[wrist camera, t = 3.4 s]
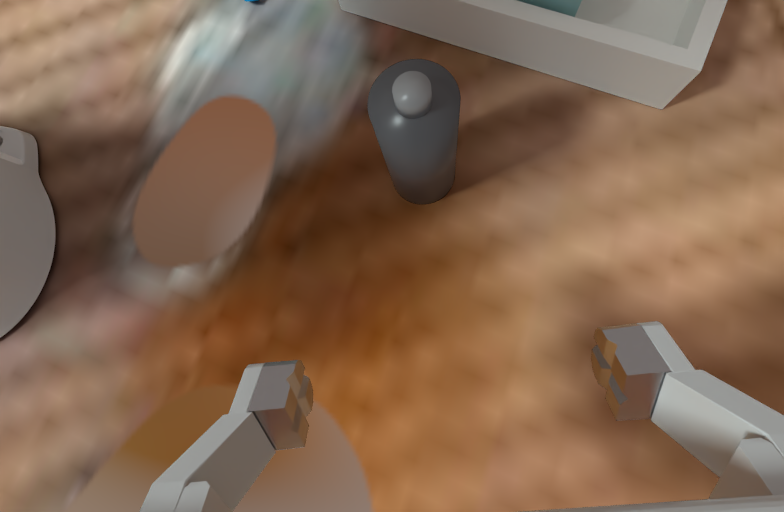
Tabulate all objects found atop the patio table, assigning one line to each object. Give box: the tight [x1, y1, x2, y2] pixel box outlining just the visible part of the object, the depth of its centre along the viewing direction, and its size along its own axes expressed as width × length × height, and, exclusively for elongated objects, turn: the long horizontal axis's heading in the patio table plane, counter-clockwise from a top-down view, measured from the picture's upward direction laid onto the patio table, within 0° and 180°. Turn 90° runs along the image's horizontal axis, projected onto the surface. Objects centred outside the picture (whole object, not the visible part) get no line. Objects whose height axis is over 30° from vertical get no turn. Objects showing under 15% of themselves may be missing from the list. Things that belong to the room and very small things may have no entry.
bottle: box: [368, 59, 460, 204], centre depth 22 cm, size 4×4×10 cm
